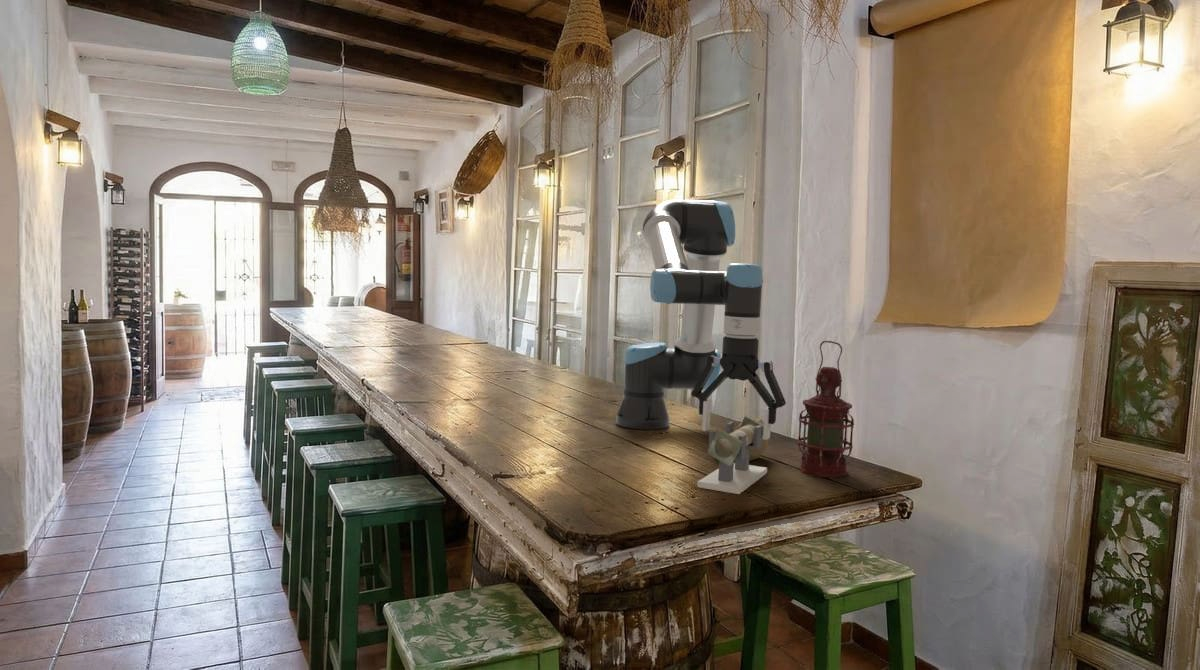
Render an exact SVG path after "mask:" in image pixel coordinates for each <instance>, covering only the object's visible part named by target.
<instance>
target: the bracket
mask: <svg viewBox="0 0 1200 670" xmlns="http://www.w3.org/2000/svg"><path fill="white" fill-rule="evenodd" d="M734 425H735V422H734V421H729V422H727V423H726V424H725V426H726V433H728V434H730V433H732V432H733V430H734ZM717 430H718V429H717ZM717 430H716V429H712V430H711V431H709V433H708V434H709V435H708V449H707V451H708V450H709V448H710V445H711V443H712V441H713V439H714V436H715V434H716V432H717ZM761 431H762V426H760V425H758V426H756V427H755V428H754V443H751V444H749V445H747V446H746V437H747V434H742V435H740V436H739V440H741V441H743V443H742V445H741V447H740V449H739V451H738V454H737V456H736V458H735V460H734V462H733V465H731V466H729V465H727V464H725V463H723V462H722V461H720V460H718V468H717V469H716V470H714V471H712V472H711V473H709V474H707V475H705V476H704V477H702V478H700V479H699V480H698V481H697V488H701V489H707V490H711V491H712V490H713V491H719V492H724V493H730V494H736V495H740V494H741V492H742V493H743V492H744V491H745V490H747V489H749V487H750V486H752V485H753V484H755V483H756V482H757V481H759V480H760V479H761V478H762V477H764V476H765V475H766V474H767V473H768V467H765V466H758V465H753V464H750V461H749V452H750V449H751V450H758V449H760V448H761ZM707 456H709V457H712V456H711V455H709V454H707Z"/></svg>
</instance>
